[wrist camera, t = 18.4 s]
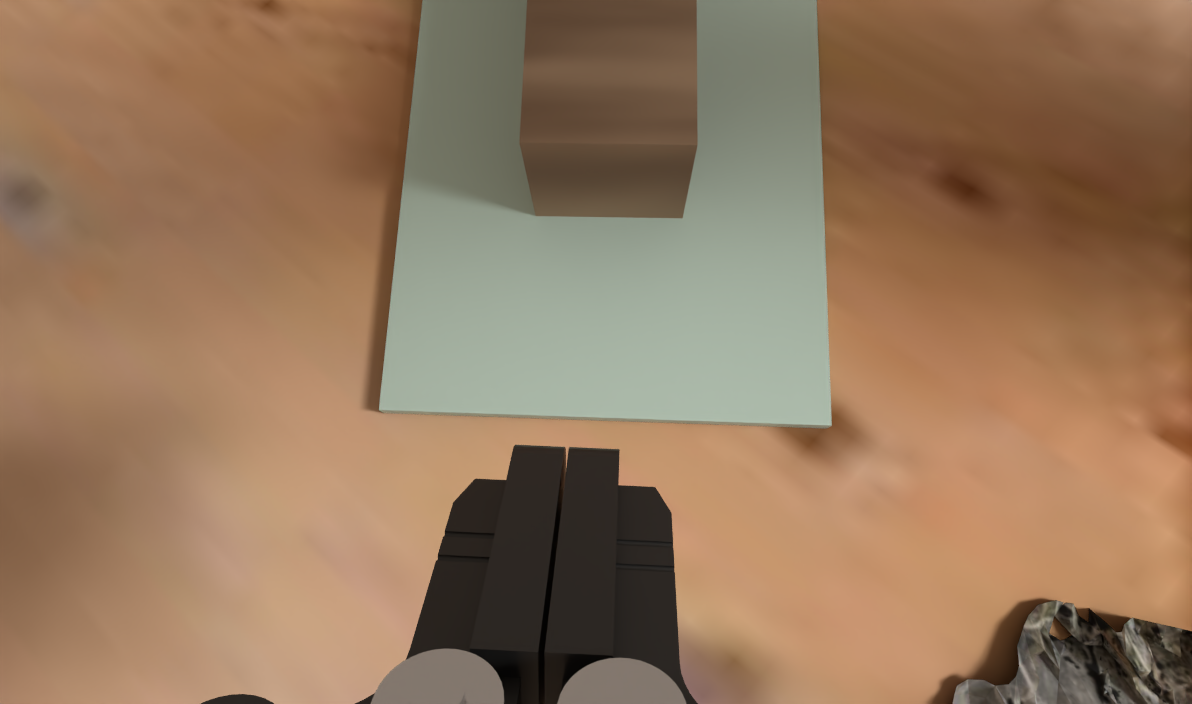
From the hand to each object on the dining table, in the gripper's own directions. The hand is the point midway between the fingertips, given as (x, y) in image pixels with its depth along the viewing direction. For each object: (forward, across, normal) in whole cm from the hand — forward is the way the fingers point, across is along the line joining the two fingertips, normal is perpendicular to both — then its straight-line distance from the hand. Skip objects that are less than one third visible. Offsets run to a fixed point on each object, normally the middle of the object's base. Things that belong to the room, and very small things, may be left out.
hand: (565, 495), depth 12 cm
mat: (+17, 0, -1) cm, 17 cm away
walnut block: (+13, 0, 0) cm, 13 cm away
